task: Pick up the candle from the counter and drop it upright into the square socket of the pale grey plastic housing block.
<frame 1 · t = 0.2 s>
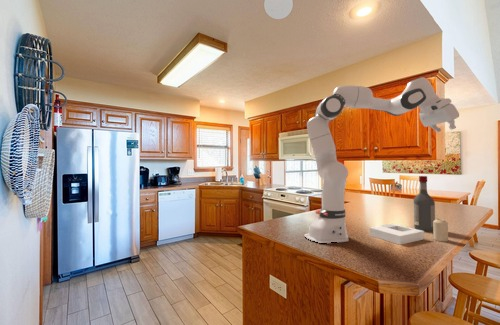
hand: (445, 130, 115), 54 cm above the counter, tool tilted 30°, fingers open, 8 cm apart
liquor: (424, 229, 129), on the counter
housing: (396, 237, 117), on the counter
candle: (440, 240, 112), on the counter
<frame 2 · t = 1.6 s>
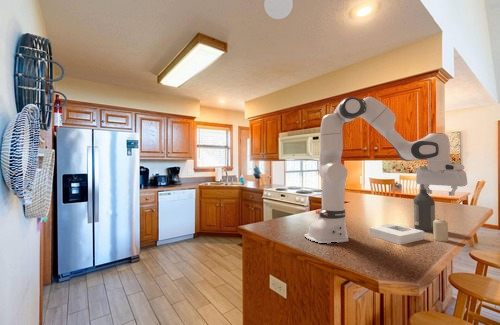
hand: (440, 194, 112), 22 cm above the counter, tool pointing down, fingers open, 8 cm apart
nothing on the counter moved.
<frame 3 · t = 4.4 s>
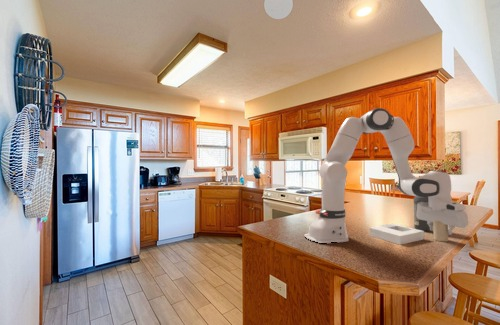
hand: (440, 232, 112), 4 cm above the counter, tool pointing down, fingers closed on candle, 5 cm apart
candle: (440, 240, 112), on the counter, touching gripper
everything else where it was.
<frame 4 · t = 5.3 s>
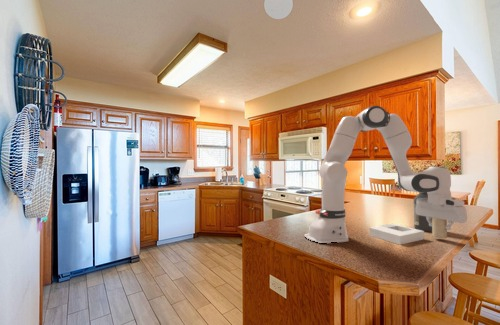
hand: (439, 228, 112), 6 cm above the counter, tool pointing down, fingers closed on candle, 5 cm apart
candle: (439, 237, 112), point 1 cm above the counter, touching gripper
everything else where it was.
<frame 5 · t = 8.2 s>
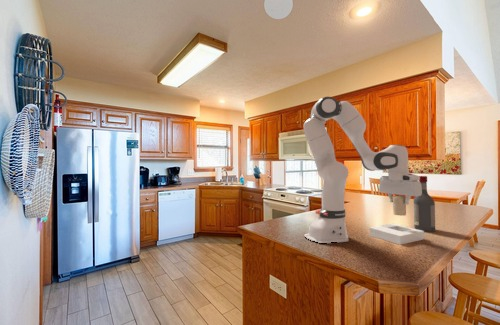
hand: (399, 203, 118), 17 cm above the counter, tool pointing down, fingers closed on candle, 5 cm apart
candle: (399, 214, 118), point 11 cm above the counter, touching gripper
everything else where it was.
when the fingers open (9 cm above the counter, at t = 10.4 s): candle drops 3 cm, resting in housing.
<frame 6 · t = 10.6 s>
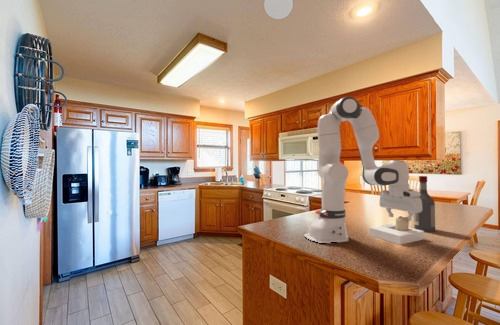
hand: (399, 218, 118), 9 cm above the counter, tool pointing down, fingers open, 8 cm apart
candle: (401, 236, 117), resting in housing, touching gripper
everything else where it was.
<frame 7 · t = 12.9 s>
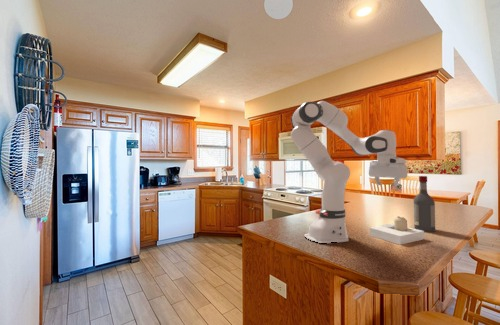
hand: (386, 185, 124), 25 cm above the counter, tool pointing down, fingers open, 8 cm apart
candle: (401, 237, 117), resting in housing
everything else where it was.
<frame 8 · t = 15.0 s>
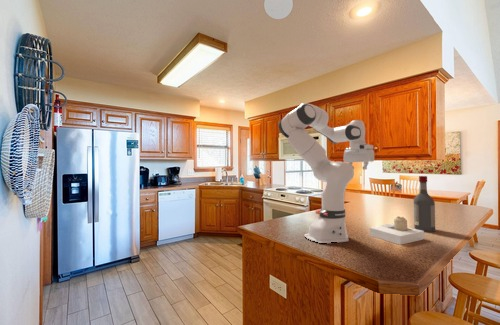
hand: (358, 169, 141), 34 cm above the counter, tool pointing down, fingers open, 8 cm apart
nothing on the counter moved.
at the end: candle 0.6 cm from the target spot on the housing, point 0.0 cm above the housing's base; candle tilted 1°; the gripper is holding nothing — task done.
